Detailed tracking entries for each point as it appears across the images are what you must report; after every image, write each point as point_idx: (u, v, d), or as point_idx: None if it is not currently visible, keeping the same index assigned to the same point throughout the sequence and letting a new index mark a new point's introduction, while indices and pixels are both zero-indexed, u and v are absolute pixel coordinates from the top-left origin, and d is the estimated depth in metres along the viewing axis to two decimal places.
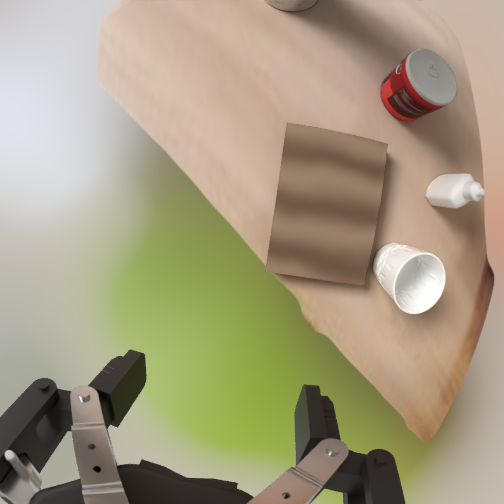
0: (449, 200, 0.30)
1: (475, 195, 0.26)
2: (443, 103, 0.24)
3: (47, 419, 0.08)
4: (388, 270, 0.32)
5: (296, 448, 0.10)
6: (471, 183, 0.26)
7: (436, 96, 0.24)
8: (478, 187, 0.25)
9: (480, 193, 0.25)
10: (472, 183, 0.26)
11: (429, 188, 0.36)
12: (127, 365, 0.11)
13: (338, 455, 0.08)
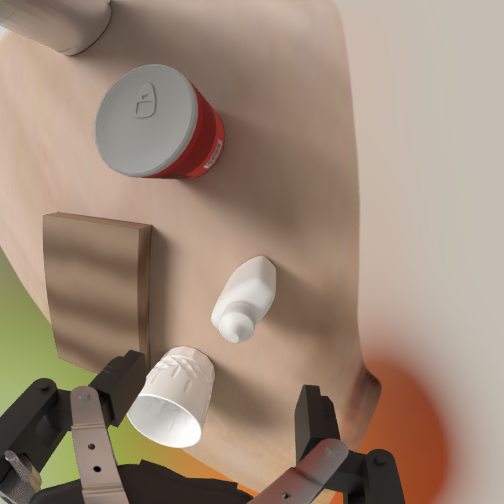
0: None
1: (228, 336, 0.18)
2: (149, 171, 0.16)
3: (47, 419, 0.08)
4: None
5: (296, 448, 0.10)
6: (227, 311, 0.19)
7: (139, 160, 0.16)
8: (232, 323, 0.18)
9: None
10: (226, 312, 0.19)
11: None
12: (127, 365, 0.11)
13: (338, 455, 0.08)
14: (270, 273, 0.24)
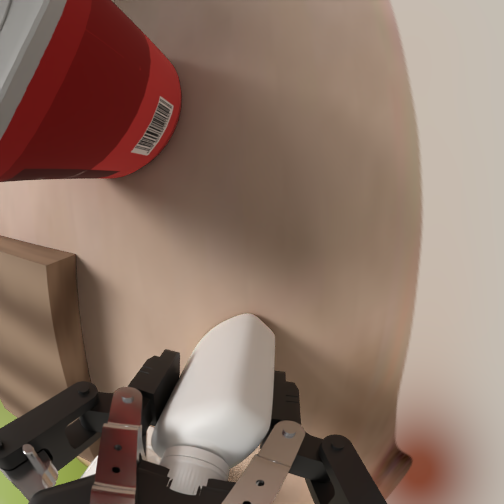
0: None
1: None
2: None
3: (82, 421, 0.08)
4: None
5: None
6: None
7: None
8: None
9: None
10: None
11: (192, 352, 0.16)
12: (165, 365, 0.12)
13: (294, 437, 0.08)
14: (263, 362, 0.12)
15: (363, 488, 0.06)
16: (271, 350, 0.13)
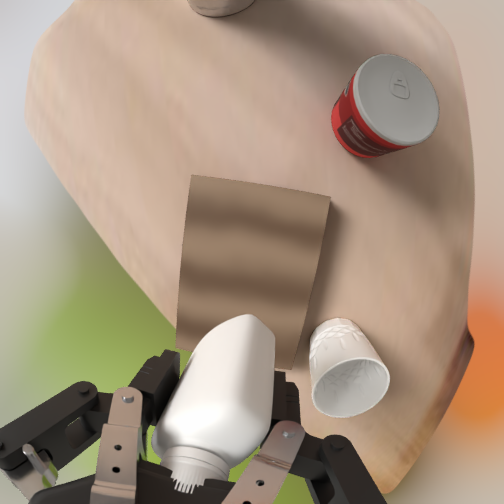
0: None
1: None
2: (412, 142, 0.18)
3: (82, 421, 0.08)
4: (313, 367, 0.26)
5: None
6: None
7: (401, 131, 0.18)
8: None
9: None
10: None
11: (192, 353, 0.16)
12: (165, 364, 0.12)
13: (294, 437, 0.08)
14: (263, 363, 0.12)
15: (363, 488, 0.06)
16: (271, 351, 0.13)
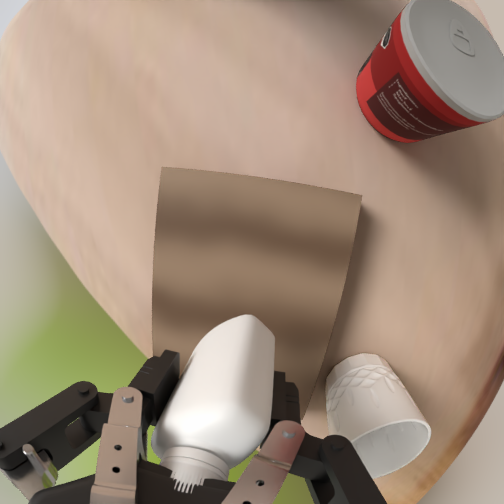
0: None
1: None
2: (489, 117, 0.09)
3: (82, 421, 0.08)
4: (334, 427, 0.17)
5: None
6: None
7: (473, 99, 0.09)
8: None
9: None
10: None
11: (192, 353, 0.16)
12: (165, 364, 0.12)
13: (293, 437, 0.08)
14: (262, 363, 0.12)
15: (363, 488, 0.06)
16: (271, 351, 0.13)
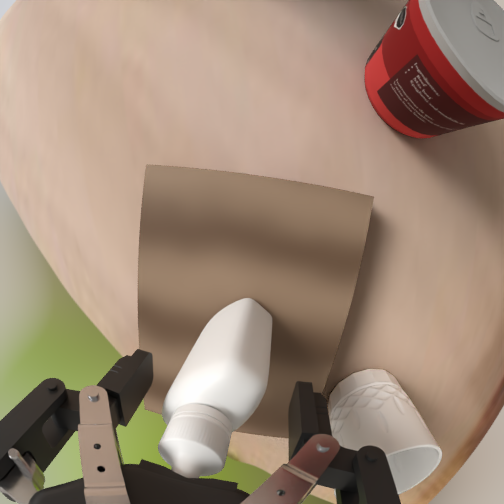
0: None
1: None
2: None
3: (54, 419, 0.08)
4: None
5: (289, 444, 0.10)
6: (170, 430, 0.08)
7: (502, 88, 0.06)
8: (179, 458, 0.07)
9: None
10: (169, 434, 0.08)
11: None
12: (135, 364, 0.11)
13: (329, 450, 0.08)
14: (260, 335, 0.13)
15: (386, 502, 0.05)
16: (268, 327, 0.15)
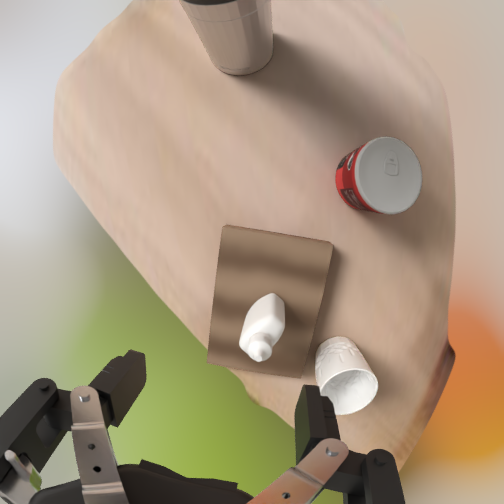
0: None
1: (254, 357, 0.26)
2: (397, 212, 0.25)
3: (47, 419, 0.08)
4: (318, 376, 0.33)
5: (296, 448, 0.10)
6: (252, 340, 0.27)
7: (389, 203, 0.26)
8: (257, 349, 0.26)
9: (255, 359, 0.25)
10: (252, 341, 0.27)
11: (247, 313, 0.36)
12: (127, 365, 0.11)
13: (338, 455, 0.08)
14: (280, 308, 0.32)
15: None
16: (283, 306, 0.34)
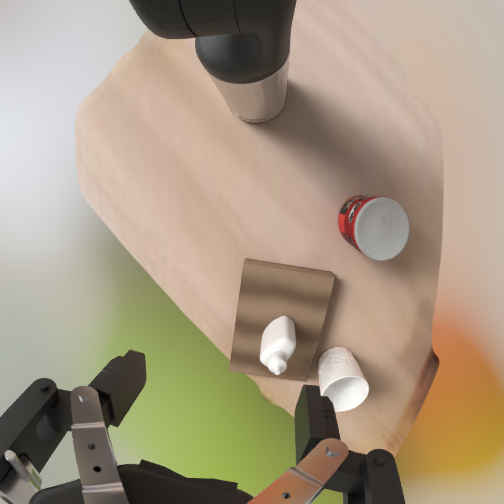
0: (261, 361, 0.38)
1: (273, 370, 0.34)
2: (387, 259, 0.33)
3: (47, 419, 0.08)
4: (321, 381, 0.41)
5: (296, 448, 0.10)
6: (272, 358, 0.34)
7: (381, 252, 0.33)
8: (276, 365, 0.34)
9: (274, 372, 0.33)
10: (272, 359, 0.34)
11: (264, 332, 0.44)
12: (127, 365, 0.11)
13: (338, 455, 0.08)
14: (291, 330, 0.40)
15: None
16: (293, 327, 0.41)
